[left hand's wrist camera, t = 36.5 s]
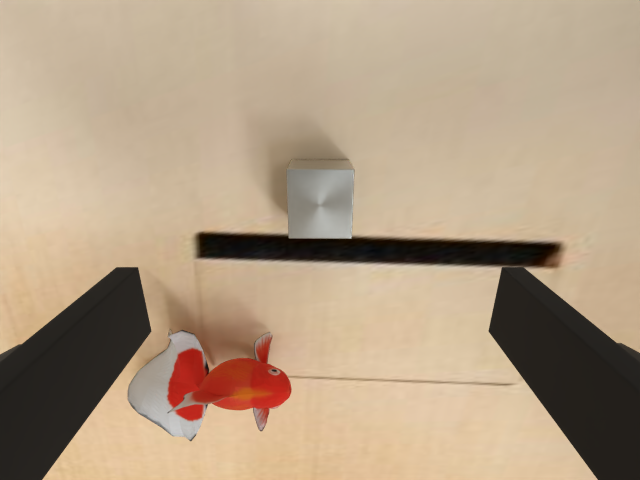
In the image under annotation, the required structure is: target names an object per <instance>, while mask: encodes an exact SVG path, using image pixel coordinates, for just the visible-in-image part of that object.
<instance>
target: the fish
mask: <svg viewBox="0 0 640 480" xmlns="http://www.w3.org/2000/svg"><path fill="white" fill-rule="evenodd" d="M168 337H169V338H170V343H169V346H168V348H167V349H166V350H165V351H163V352H162V353H160V354H159V355H158V356H156V357H155V358H154V359H153V360H151V361H150V362H149V363H147V364H146V365H145V366H143V367H142V368H141V369H140V370H139V371H138V372H137V373H136V375H135V376H134V378H133V380H132V381H131V383H130V384H129V388H128V401H129V403H130V404H131V406H132V407H133V408H134V409H135V410H136V411H137V412H138V413H139V414H140V415H142V416H144V417H145V418H147V419H149V420H150V421H152V422H153V423H155V424H157V425H158V426H160V427H162V428H163V429H164V430H165V431H167V432H168V433H169V434H171V435H172V436H180V437H186V438H187V439H188V440H190V441H192V439H193V438H194V437H195V436H196V434H197V432H198V430H199V428H200V426H201V423H202V420H203V417H204V414H205V411H206V408H207V405H208V404H211V403H212V404H214V405H216V406H218V407H221V408H224V409H230V410H246V409H250V408H253V412H254V416H255V420H256V423H257V426H258V429H259V430H260V431H262V430H263V429H264V427H265V425H266V423H267V417H268V414H269V408H271V409H275V408H277V407H279V406H280V405H281V404H282V403H284V402H285V401H286V400H287V399H288V398H289V397H290V394H291V384H290V381H289V379H288V377H287V375H286V374H285V373H284V372H283V371H282V370H280V369H278V368H276V367H274V366H272V365H270V364H267V361H268V353H269V348H270V343H271V339H272V334H271V333H270V332H269V333H266V334H264V335H262V336H261V337H260V338H259V339H257V340H256V341H255V343H254V352H255V358H256V360H253V359H249V358H237V359H233V360H229V361H226V362H223V363H221V364H220V365H218V366H217V367H216V368H214V369H213V370H212V371H211V372H210V373H209V368H208V364H207V361H206V358H205V355H204V352H203V349H202V347H201V345H200V343H199V341H198V340H197V338H196V336H195V335H194V334H193V333H190V332H187V331H184V330H181V331H179V332H177V333H175V334H172V331H171V330H169V334H168Z"/></svg>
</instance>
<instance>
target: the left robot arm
mask: <svg viewBox="0 0 640 480" xmlns="http://www.w3.org/2000/svg"><path fill="white" fill-rule="evenodd" d="M150 333H151V327H150V322H149V318H148V313H147V308H146V303H145V299H144V294H143V289H142V284H141V280H140V275H139V270H138V267H117V268H115V269H114V270H113V271H112V272H110V273H109V274H108V275H107V276H105V277H104V278H103V279H102V280H101V281H99V282H98V283H97V284H96V285H94V286H93V287H92V288H91V289H89V290H88V291H87V292H86V293H85V294H83V295H82V296H81V297H80V298H78V299H77V300H76V301H75V302H73V303H72V304H71V305H70V306H68V307H67V308H66V309H65V310H64V311H62V312H61V313H60V314H59V315H57V316H56V317H55V318H54V319H52V320H51V321H50V322H49V323H48V324H46V325H45V326H44V327H43V328H41V329H40V330H39V331H38V332H36V333H35V334H34V335H33V336H32V337H30V338H29V339H28V340H27V341H25V342H24V343H23V344H19V345H17V346H15V347H13V348H12V349H10V350H8V351H6V352H4V353H2V354H0V480H42V479H43V478H44V476H45V475H46V474H47V472H48V471H49V470H50V468H51V467H52V466H53V464H54V463H55V461H56V460H57V459H58V457H59V456H60V455H61V453H62V452H63V451H64V449H65V448H66V447H67V445H68V444H69V442H70V441H71V440H72V438H73V437H74V436H75V434H76V433H77V432H78V430H79V429H80V428H81V426H82V425H83V423H84V422H85V421H86V419H87V418H88V417H89V415H90V414H91V413H92V411H93V410H94V409H95V407H96V406H97V404H98V403H99V402H100V400H101V399H102V398H103V396H104V395H105V394H106V392H107V391H108V390H109V388H110V387H111V385H112V384H113V383H114V381H115V380H116V379H117V377H118V376H119V375H120V373H121V372H122V371H123V369H124V368H125V366H126V365H127V364H128V362H129V361H130V360H131V358H132V357H133V356H134V354H135V353H136V352H137V350H138V349H139V347H140V346H141V345H142V343H143V342H144V341H145V339H146V338H147V337H148V335H149V334H150ZM489 333H490V334H491V335H492V337H493V338H494V339H495V341H496V342H497V343H498V345H499V346H500V347H501V349H502V350H503V352H504V353H505V354H506V356H507V357H508V358H509V360H510V361H511V362H512V364H513V365H514V366H515V368H516V369H517V371H518V372H519V373H520V375H521V376H522V377H523V379H524V380H525V381H526V383H527V384H528V385H529V387H530V388H531V390H532V391H533V392H534V394H535V395H536V396H537V398H538V399H539V400H540V402H541V403H542V404H543V406H544V407H545V409H546V410H547V411H548V413H549V414H550V415H551V417H552V418H553V419H554V421H555V422H556V423H557V425H558V426H559V428H560V429H561V430H562V432H563V433H564V434H565V436H566V437H567V438H568V440H569V441H570V442H571V444H572V445H573V447H574V448H575V449H576V451H577V452H578V453H579V455H580V456H581V457H582V459H583V460H584V461H585V463H586V464H587V466H588V467H589V468H590V470H591V471H592V472H593V474H594V475H595V476H596V478H597V479H598V480H640V353H639V352H637V351H635V350H633V349H631V348H629V347H627V346H626V345H624V344H622V343H616V342H615V341H613V340H612V339H611V338H610V337H608V336H607V335H606V334H605V333H604V332H602V331H601V330H600V329H599V328H597V327H596V326H595V325H594V324H592V323H591V322H590V321H589V320H588V319H586V318H585V317H584V316H583V315H581V314H580V313H579V312H578V311H576V310H575V309H574V308H573V307H572V306H570V305H569V304H568V303H567V302H565V301H564V300H563V299H562V298H560V297H559V296H558V295H557V294H555V293H554V292H553V291H552V290H551V289H549V288H548V287H547V286H546V285H544V284H543V283H542V282H541V281H539V280H538V279H537V278H536V277H535V276H533V275H532V274H531V273H530V272H528V271H527V270H526V269H525V268H523V267H502V270H501V275H500V280H499V284H498V289H497V294H496V299H495V303H494V308H493V313H492V318H491V322H490V327H489Z"/></svg>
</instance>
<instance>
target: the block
mask: <svg viewBox="0 0 640 480" xmlns="http://www.w3.org/2000/svg"><path fill="white" fill-rule="evenodd" d="M353 193H354V168H353V166H352V164H351V162H350V160H314V159H292V160H291V162H290V164H289V166H288V168H287V201H288V232H289V238H352V219H353Z"/></svg>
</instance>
